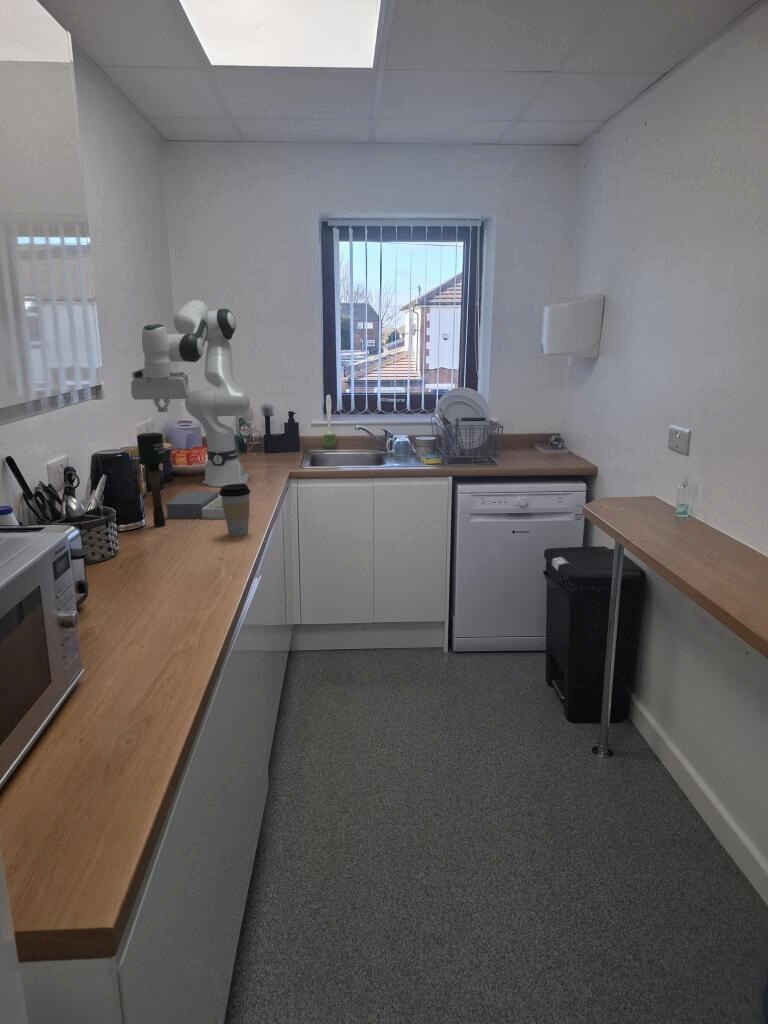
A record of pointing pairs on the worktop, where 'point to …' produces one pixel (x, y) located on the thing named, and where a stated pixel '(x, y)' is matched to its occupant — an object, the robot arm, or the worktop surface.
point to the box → (213, 510)
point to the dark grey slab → (190, 504)
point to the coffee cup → (236, 508)
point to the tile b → (219, 506)
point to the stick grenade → (153, 468)
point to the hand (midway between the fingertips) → (162, 412)
